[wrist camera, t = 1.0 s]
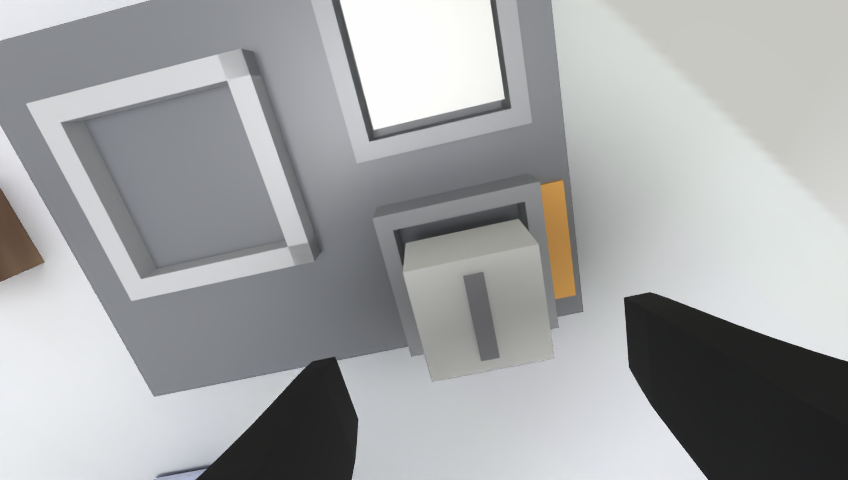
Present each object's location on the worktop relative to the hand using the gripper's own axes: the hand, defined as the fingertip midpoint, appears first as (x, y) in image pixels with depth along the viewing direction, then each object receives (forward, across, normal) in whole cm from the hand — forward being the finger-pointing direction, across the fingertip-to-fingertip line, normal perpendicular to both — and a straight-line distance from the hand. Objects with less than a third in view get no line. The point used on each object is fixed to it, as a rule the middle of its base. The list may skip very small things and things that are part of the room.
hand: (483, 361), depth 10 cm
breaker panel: (+8, +5, -4) cm, 11 cm away
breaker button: (+5, 0, 0) cm, 5 cm away
